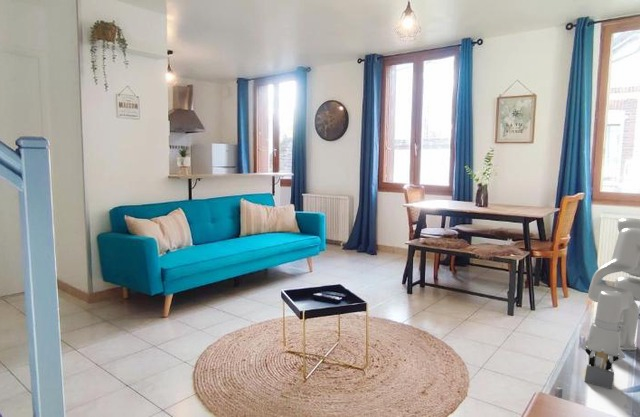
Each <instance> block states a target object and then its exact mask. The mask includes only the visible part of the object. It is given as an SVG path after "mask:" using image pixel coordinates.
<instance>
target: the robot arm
mask: <svg viewBox="0 0 640 417" xmlns="http://www.w3.org/2000/svg"><path fill="white" fill-rule="evenodd" d="M617 230H618V235H617V239H616V242H615V245H614V249H613V253H612V257H611V260H610V261H608V262H607V263H604V264H603V265H601V266H600V267H599V268H597V269H596V271H595V272H594V273H593V275H592V277H591V281H590V285H589V288H588V293H587V294H588V298H589V299H590V301H592V302H594V303H595V302H596V303H597V304H596V305H597V306H596V310H595V311H596V313H595V318H594V322H592V323H591V325H590V328H589V331H588V335H587V339H586V340H585V341H584V342H582V343H580V348H581V349H582V350H583V351H584V352H585V354H586V353H587V354H588V355H589V365H590V366H593V365H594V356H595V352H602V351H603V350H601V349H604V350H605V351H604V353H605V354H608V356H609V359H608V362H607V368H606V370H608V371H609V370H611V371H612V366H613V363H614V362H617V361H618V360H621V359H625V357H626V355H625V353H624V352H623V351H626V352H628V351H629V352H632V351H631V350H635V349H636V347H635V344H636V343H635V338H636V334H637V327H638V321H639V316H640V308H639V305H638V304H637V303H636V301H638V302H640V219H639V218H632V217H624V218H621V219H620V218H619V220H618V221H617ZM620 272H622V273H624V274H625V275H629V276H619V277H617V278H616V279H615V281H614V286H613V285H609V284H608V285H607V284H603V283H601V282H602V280H603V278H604V277H606V276H608V275H610V274H615V273H620ZM630 276H632V277H630ZM634 343H635V344H634ZM635 351H636V350H635Z"/></svg>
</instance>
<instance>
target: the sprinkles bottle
mask: <svg viewBox="0 0 640 417" xmlns="http://www.w3.org/2000/svg"><path fill="white" fill-rule="evenodd" d="M601 350H603V351H602V352H595V354H594V365H593V366H594V367H597V368H601V369H605V370H606V368H607V362H608V356H609V355H608V354H605V353H604V351H605V350H604V349H601Z"/></svg>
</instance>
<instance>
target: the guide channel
mask: <svg viewBox="0 0 640 417" xmlns="http://www.w3.org/2000/svg"><path fill="white" fill-rule="evenodd" d="M589 359H590V357H589V355H588V354H587V353H586V352H585V363H584V382H585V383H588V384H592V385H595V386H598V387H603V388H606V389H610V390H612V389H613V382H614V379H615V378H614V377H615V372H614V371H612V369H611V370H609V371H608V370H605V369H601V368H597V367H594V366H591V365H590V364H589ZM608 359H609V355H608Z"/></svg>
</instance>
